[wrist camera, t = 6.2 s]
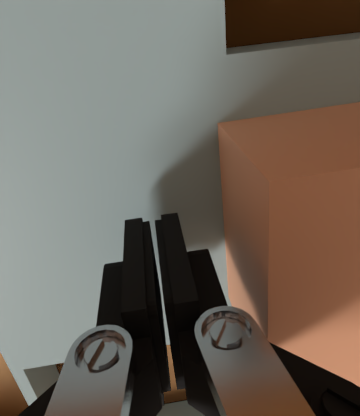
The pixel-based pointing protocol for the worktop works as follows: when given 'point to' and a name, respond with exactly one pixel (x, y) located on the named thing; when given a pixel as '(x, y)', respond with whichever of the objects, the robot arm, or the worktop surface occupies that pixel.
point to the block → (296, 230)
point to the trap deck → (124, 148)
